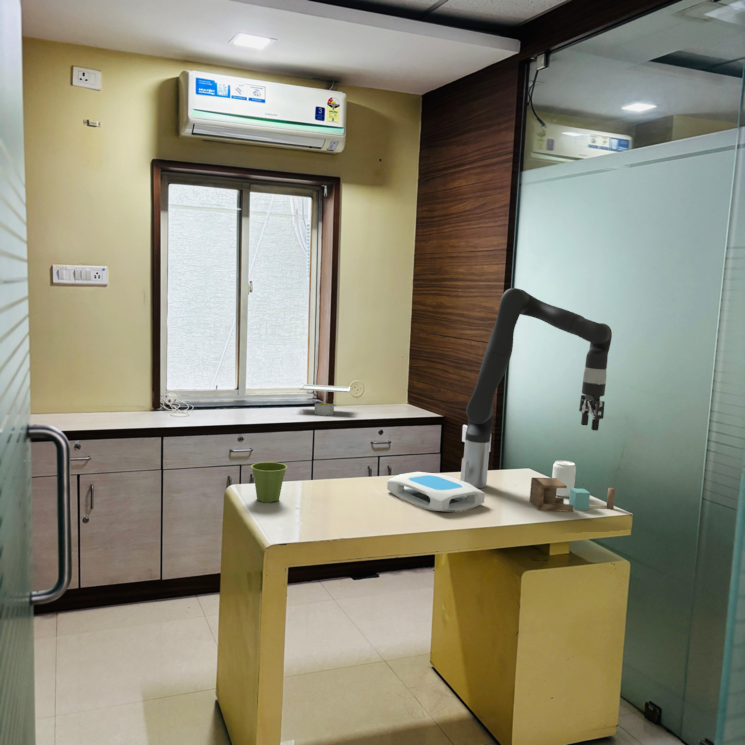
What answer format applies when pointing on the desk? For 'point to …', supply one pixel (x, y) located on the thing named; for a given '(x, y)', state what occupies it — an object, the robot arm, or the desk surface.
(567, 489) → the beverage can
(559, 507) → the walnut cubby
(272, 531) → the desk surface
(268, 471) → the plant pot
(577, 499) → the tethered block
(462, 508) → the aerobic step platform
